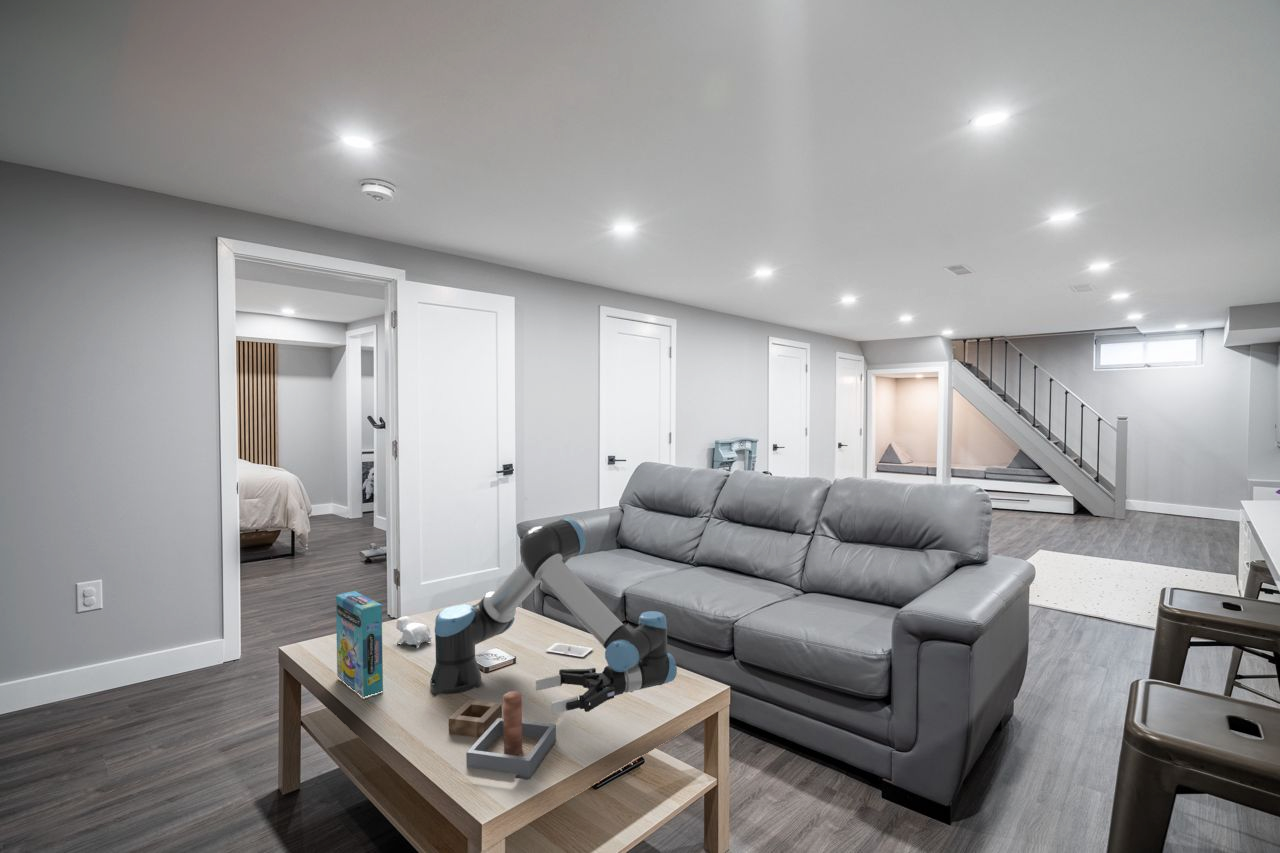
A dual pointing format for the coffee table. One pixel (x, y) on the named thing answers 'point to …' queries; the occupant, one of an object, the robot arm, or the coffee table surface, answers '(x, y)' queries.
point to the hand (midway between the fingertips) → (543, 696)
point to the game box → (359, 643)
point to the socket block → (474, 718)
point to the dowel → (512, 723)
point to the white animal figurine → (413, 632)
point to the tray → (512, 763)
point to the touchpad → (569, 649)
